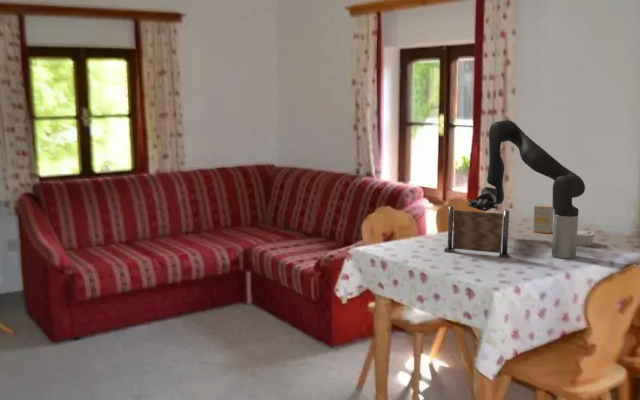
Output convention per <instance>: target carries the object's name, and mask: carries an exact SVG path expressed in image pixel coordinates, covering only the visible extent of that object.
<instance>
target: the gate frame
mask: <svg viewBox="0 0 640 400" xmlns="http://www.w3.org/2000/svg"><path fill="white" fill-rule="evenodd" d="M447 220H448V222H447V224H448V225H447V246H446V247H445V248H444V251H443V252H444V253H452V254H453V253H455V251H456V249H453V227H454V206H448V219H447ZM509 222H510V210H507V209H506V210H503V222H502V243H501V253H498V254H499V255H498V257H499V258H501V259H502V258H503V259H504V258H505V259H509V258H510V257H511V256H510V252H508V244H509V242H508V241H509V224H510V223H509Z"/></svg>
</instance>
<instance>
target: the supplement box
mask: <svg viewBox="0 0 640 400" xmlns="http://www.w3.org/2000/svg"><path fill="white" fill-rule="evenodd" d="M553 225H554V208H553V204H552V205H549V204H538V203H537V204H535V205H534V206H533V228H532V229H533V233H538V234H539V233H542V234H550V235H551V234H553Z"/></svg>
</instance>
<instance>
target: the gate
mask: <svg viewBox="0 0 640 400" xmlns="http://www.w3.org/2000/svg"><path fill="white" fill-rule="evenodd" d="M503 220H504V213H499V212H487V211H475V210H473V211H472V210H458V209H457V210H456V209H455V210H453V230H452V248H453V249H455V250H464V251H475V252H486V253H496V254H500V253H501V252H502V241H503Z"/></svg>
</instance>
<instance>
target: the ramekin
mask: <svg viewBox="0 0 640 400" xmlns="http://www.w3.org/2000/svg"><path fill="white" fill-rule="evenodd" d="M595 236H596V234H595V233H594V232H593V231H590V230H583V229H577V243H576V247H577V246H578V247H580V246H581V247H589V246H590V247H591V245H592V244H593V241H594V237H595Z"/></svg>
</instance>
